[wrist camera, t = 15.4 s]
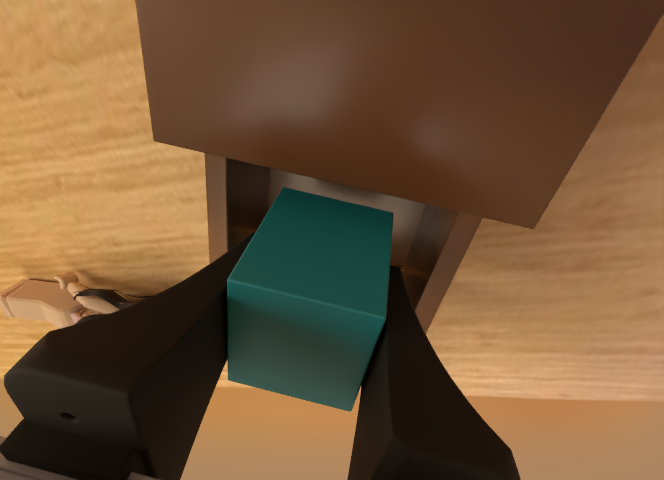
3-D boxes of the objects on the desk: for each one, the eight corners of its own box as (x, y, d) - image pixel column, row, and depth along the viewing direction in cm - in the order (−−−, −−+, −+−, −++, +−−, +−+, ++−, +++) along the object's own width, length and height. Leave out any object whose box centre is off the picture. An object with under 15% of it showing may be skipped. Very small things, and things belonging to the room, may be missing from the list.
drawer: (390, 347, 25) (385, 439, 20) (245, 311, 25) (205, 392, 20) (509, 63, 14) (560, 109, 9) (256, 9, 15) (177, 26, 10)
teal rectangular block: (366, 299, 16) (351, 413, 12) (274, 277, 16) (227, 380, 12) (394, 211, 13) (386, 318, 9) (282, 185, 13) (225, 279, 9)
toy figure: (72, 330, 32) (226, 344, 28) (-1, 389, 27) (177, 417, 23) (32, 259, 29) (200, 263, 25) (-60, 309, 24) (136, 325, 20)
